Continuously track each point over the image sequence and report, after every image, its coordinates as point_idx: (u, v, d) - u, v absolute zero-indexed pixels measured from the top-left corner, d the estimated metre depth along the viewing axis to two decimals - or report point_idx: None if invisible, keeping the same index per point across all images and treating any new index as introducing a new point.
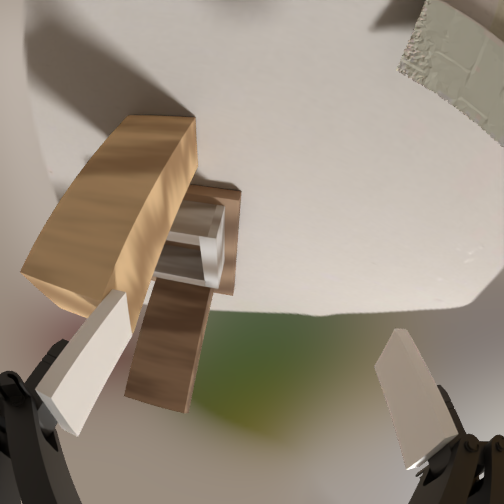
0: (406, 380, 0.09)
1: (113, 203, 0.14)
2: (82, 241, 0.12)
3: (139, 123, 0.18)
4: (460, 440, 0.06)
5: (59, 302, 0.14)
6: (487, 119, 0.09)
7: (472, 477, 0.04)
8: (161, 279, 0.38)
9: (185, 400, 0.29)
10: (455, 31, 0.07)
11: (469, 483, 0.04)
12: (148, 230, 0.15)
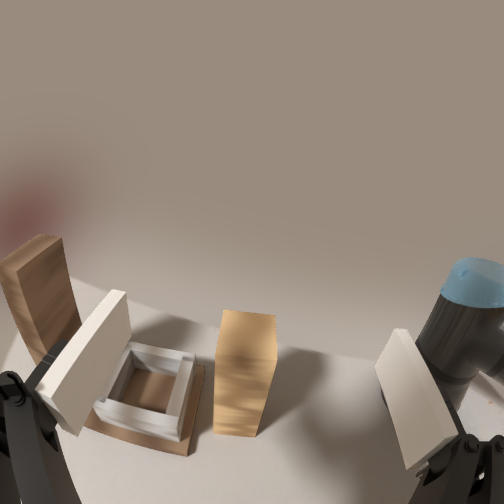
0: (406, 381, 0.09)
1: None
2: None
3: None
4: (460, 440, 0.06)
5: (239, 318, 0.25)
6: None
7: (472, 477, 0.04)
8: None
9: (21, 286, 0.18)
10: None
11: (469, 483, 0.04)
12: (247, 394, 0.23)
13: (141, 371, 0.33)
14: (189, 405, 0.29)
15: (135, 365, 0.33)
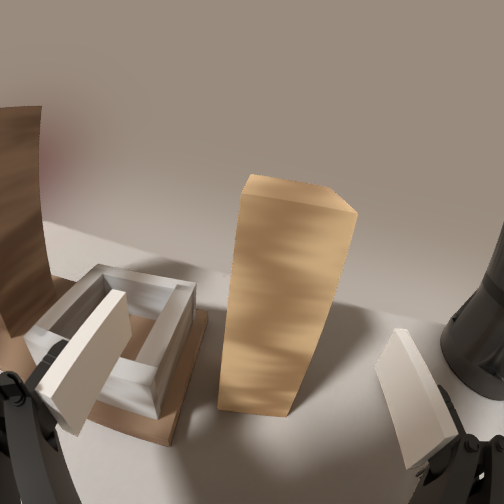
0: (406, 381, 0.09)
1: None
2: None
3: None
4: (460, 440, 0.06)
5: (277, 180, 0.16)
6: None
7: (472, 477, 0.04)
8: (48, 285, 0.22)
9: None
10: None
11: (469, 483, 0.04)
12: (291, 311, 0.13)
13: None
14: (180, 362, 0.19)
15: None
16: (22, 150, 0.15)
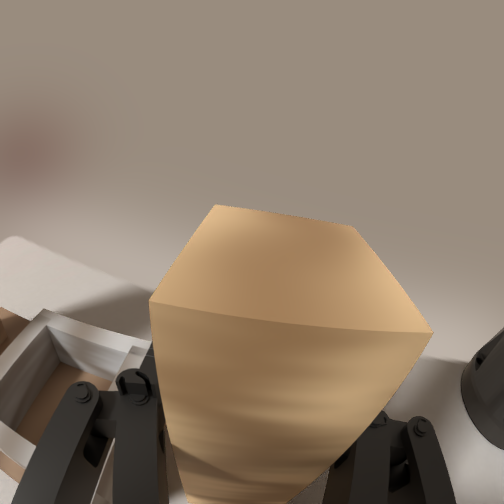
0: None
1: None
2: None
3: None
4: None
5: (260, 219, 0.09)
6: None
7: (387, 455, 0.06)
8: None
9: None
10: None
11: (387, 462, 0.06)
12: (279, 459, 0.06)
13: (68, 368, 0.16)
14: None
15: (59, 357, 0.16)
16: None
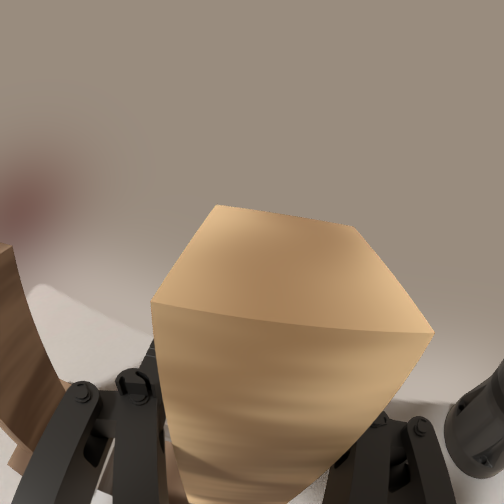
0: None
1: None
2: None
3: None
4: None
5: (261, 219, 0.09)
6: None
7: (387, 455, 0.06)
8: None
9: None
10: None
11: (387, 462, 0.06)
12: (279, 460, 0.06)
13: None
14: None
15: None
16: (6, 310, 0.12)
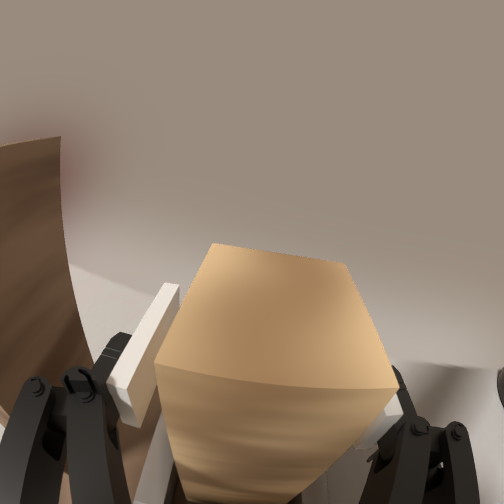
0: None
1: None
2: None
3: None
4: (405, 424, 0.07)
5: (254, 262, 0.09)
6: None
7: (426, 462, 0.05)
8: None
9: None
10: None
11: (425, 468, 0.05)
12: (268, 474, 0.07)
13: None
14: None
15: None
16: (33, 228, 0.09)
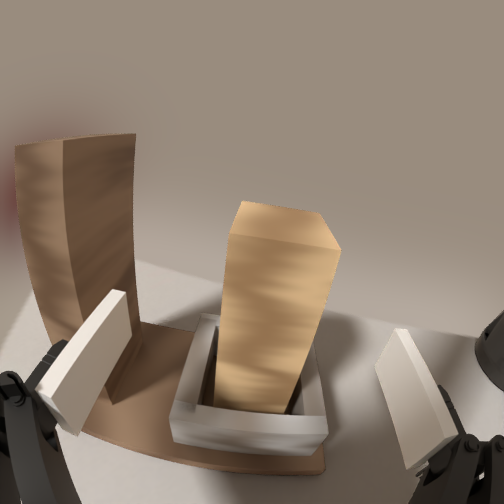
0: (406, 381, 0.09)
1: None
2: None
3: None
4: (460, 440, 0.06)
5: (267, 208, 0.16)
6: None
7: (472, 477, 0.04)
8: (138, 336, 0.23)
9: (64, 175, 0.10)
10: None
11: (469, 483, 0.04)
12: (278, 337, 0.14)
13: None
14: None
15: (215, 351, 0.24)
16: (119, 192, 0.16)
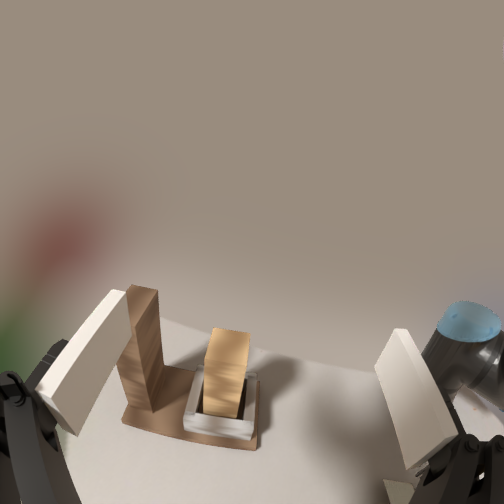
0: (406, 381, 0.09)
1: None
2: None
3: None
4: (460, 440, 0.06)
5: (224, 334, 0.35)
6: (394, 503, 0.20)
7: (472, 477, 0.04)
8: (163, 376, 0.41)
9: (137, 336, 0.29)
10: (407, 490, 0.23)
11: (469, 483, 0.04)
12: (227, 389, 0.32)
13: None
14: None
15: None
16: (154, 321, 0.35)
